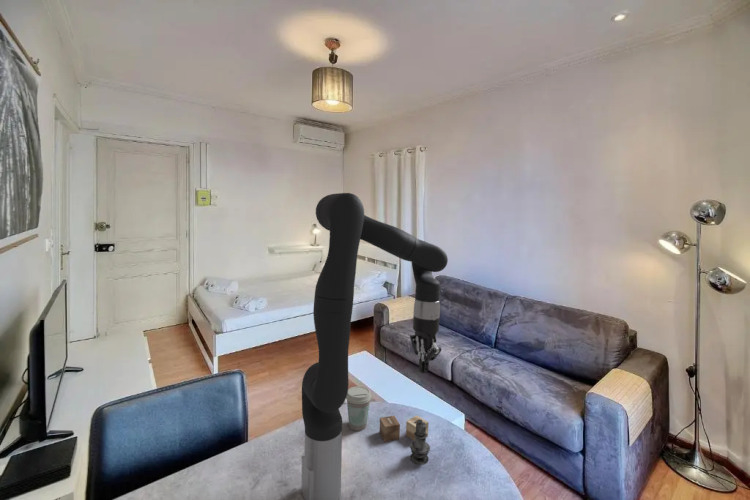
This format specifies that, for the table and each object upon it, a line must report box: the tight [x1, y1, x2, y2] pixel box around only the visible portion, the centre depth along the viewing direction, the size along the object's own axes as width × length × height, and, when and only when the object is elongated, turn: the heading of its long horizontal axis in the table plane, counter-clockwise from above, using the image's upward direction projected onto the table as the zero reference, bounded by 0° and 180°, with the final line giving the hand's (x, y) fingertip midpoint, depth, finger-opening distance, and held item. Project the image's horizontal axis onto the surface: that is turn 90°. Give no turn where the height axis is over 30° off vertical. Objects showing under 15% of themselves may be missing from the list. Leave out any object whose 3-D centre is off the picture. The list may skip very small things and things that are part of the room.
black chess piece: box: [409, 420, 431, 466], centre depth 100 cm, size 6×6×12 cm
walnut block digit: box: [379, 415, 401, 443], centre depth 110 cm, size 5×5×5 cm
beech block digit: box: [405, 414, 430, 441], centre depth 110 cm, size 5×5×5 cm
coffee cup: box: [345, 385, 372, 432], centre depth 114 cm, size 8×8×12 cm
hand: (423, 371), depth 101 cm, fingers closed
